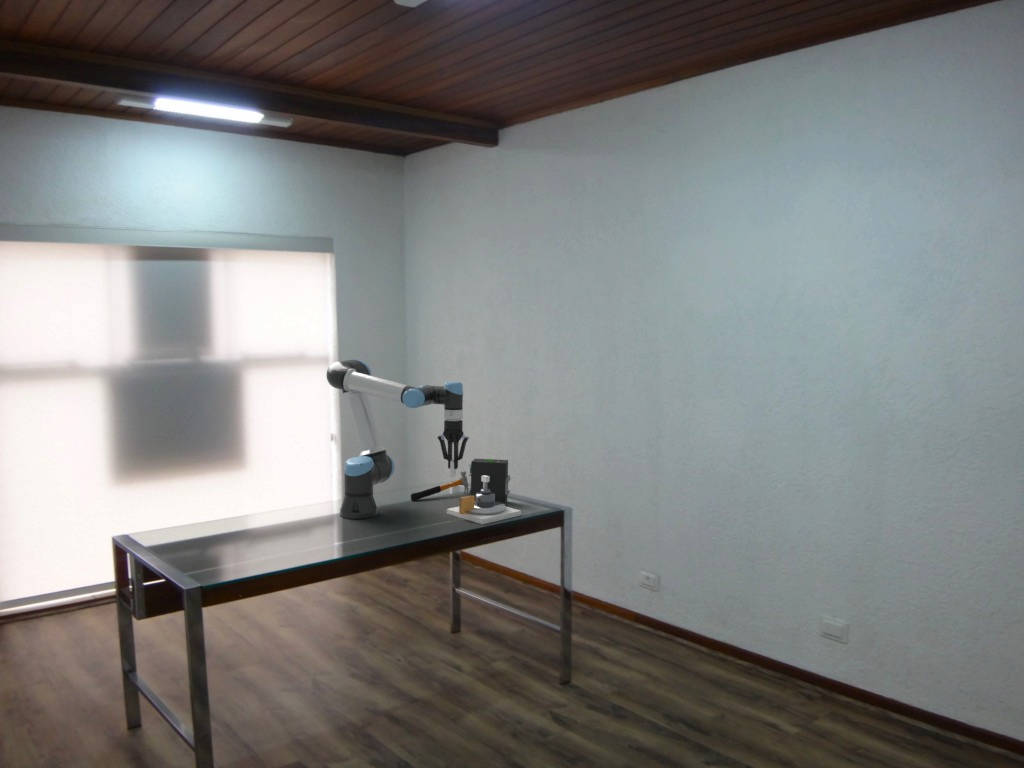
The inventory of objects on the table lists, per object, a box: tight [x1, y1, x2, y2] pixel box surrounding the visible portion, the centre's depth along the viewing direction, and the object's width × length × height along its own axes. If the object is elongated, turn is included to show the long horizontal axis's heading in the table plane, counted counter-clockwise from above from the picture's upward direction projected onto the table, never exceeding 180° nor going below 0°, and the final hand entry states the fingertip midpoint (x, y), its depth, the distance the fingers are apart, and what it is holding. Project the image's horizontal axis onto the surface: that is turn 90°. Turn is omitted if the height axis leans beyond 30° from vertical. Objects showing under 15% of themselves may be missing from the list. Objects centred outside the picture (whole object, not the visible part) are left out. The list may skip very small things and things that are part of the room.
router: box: [468, 458, 512, 505], centre depth 360 cm, size 8×18×20 cm, turn 82°
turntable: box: [458, 495, 506, 515], centre depth 338 cm, size 18×22×7 cm
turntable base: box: [446, 475, 522, 525], centre depth 339 cm, size 22×22×14 cm
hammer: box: [410, 470, 470, 502], centre depth 369 cm, size 11×4×30 cm
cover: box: [476, 488, 495, 508], centre depth 338 cm, size 8×8×7 cm
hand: (452, 476), depth 332 cm, fingers closed
